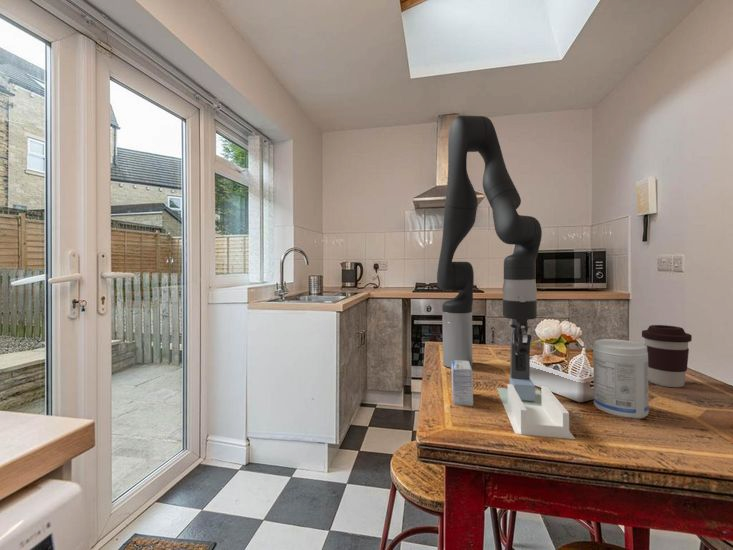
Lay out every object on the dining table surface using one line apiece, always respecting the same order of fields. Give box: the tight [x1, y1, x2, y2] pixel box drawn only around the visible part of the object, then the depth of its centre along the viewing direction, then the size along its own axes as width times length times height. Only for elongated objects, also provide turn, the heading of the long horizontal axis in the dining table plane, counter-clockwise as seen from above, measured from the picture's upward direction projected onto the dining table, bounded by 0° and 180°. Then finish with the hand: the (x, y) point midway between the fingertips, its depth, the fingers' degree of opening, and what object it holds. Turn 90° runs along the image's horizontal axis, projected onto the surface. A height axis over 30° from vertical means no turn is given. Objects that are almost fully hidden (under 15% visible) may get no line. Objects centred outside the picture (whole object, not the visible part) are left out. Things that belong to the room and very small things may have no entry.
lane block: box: [509, 341, 536, 401], centre depth 82 cm, size 6×4×12 cm
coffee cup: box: [641, 324, 693, 388], centre depth 91 cm, size 10×10×15 cm
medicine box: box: [450, 360, 474, 406], centre depth 81 cm, size 8×4×9 cm, turn 168°
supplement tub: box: [592, 338, 649, 420], centre depth 74 cm, size 10×10×15 cm
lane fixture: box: [496, 383, 576, 440], centre depth 75 cm, size 25×10×5 cm, turn 167°
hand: (519, 369), depth 84 cm, fingers closed on lane block, 1 cm apart
